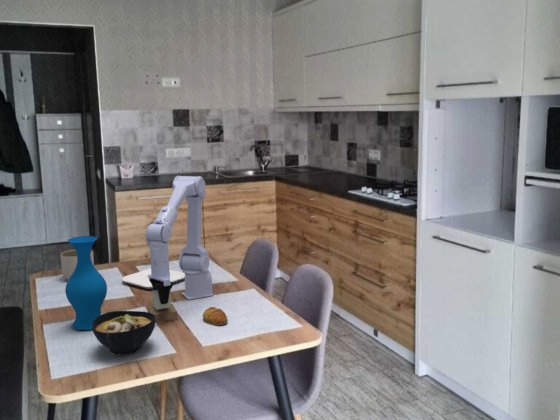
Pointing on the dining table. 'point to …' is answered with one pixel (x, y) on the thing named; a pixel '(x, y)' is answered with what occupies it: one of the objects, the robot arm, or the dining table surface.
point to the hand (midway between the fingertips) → (161, 301)
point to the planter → (70, 262)
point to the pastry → (215, 316)
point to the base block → (164, 313)
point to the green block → (157, 301)
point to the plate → (143, 281)
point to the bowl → (123, 330)
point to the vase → (85, 285)
